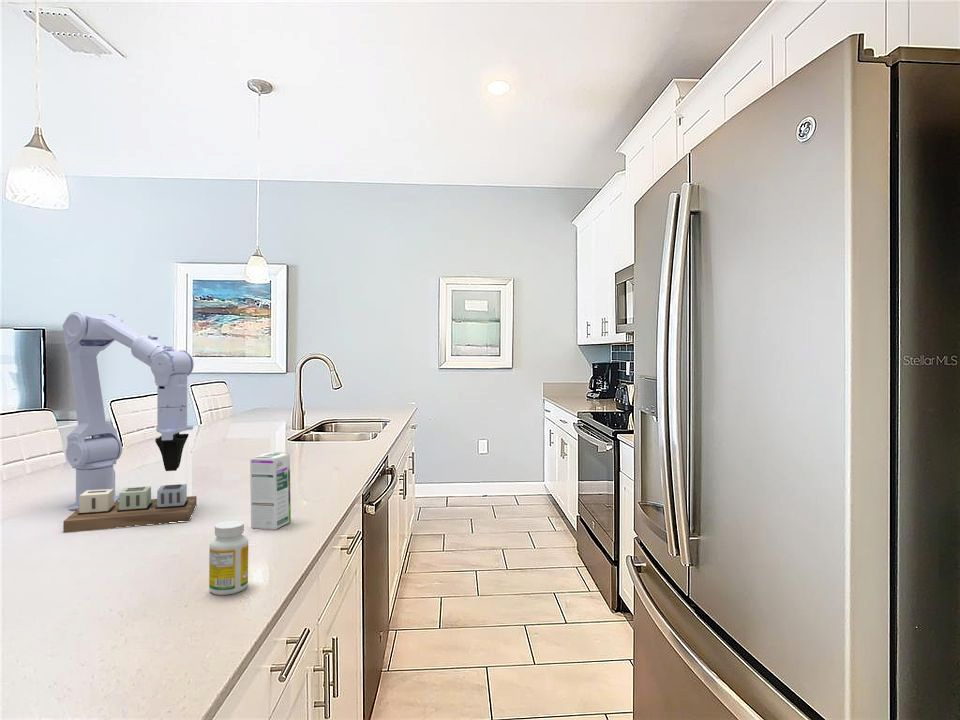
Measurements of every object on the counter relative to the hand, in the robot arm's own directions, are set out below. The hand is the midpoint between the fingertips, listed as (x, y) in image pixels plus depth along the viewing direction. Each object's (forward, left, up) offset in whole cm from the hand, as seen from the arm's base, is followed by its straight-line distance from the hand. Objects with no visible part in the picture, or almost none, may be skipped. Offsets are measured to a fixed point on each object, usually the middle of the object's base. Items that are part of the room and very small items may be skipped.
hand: (172, 469), depth 126 cm
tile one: (0, -14, -7) cm, 16 cm away
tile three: (0, 0, -7) cm, 7 cm away
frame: (0, -7, -10) cm, 12 cm away
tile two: (0, -7, -7) cm, 10 cm away
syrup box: (+15, +20, -10) cm, 27 cm away
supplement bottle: (+47, +14, -10) cm, 50 cm away
